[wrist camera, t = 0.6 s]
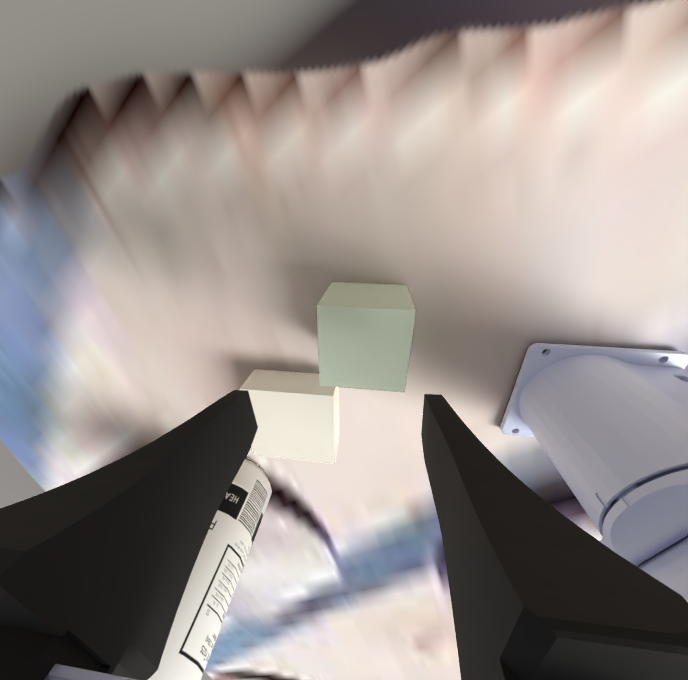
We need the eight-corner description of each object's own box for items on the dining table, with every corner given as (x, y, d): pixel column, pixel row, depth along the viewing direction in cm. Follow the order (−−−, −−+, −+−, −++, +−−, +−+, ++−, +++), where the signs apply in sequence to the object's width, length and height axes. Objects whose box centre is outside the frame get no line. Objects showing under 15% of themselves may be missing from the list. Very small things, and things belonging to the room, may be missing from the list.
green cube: (406, 284, 18) (415, 310, 13) (399, 351, 20) (404, 392, 16) (332, 281, 18) (316, 305, 14) (332, 346, 21) (319, 385, 16)
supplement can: (242, 510, 31) (140, 735, 18) (185, 469, 29) (21, 689, 16) (289, 486, 28) (209, 734, 15) (229, 438, 26) (73, 677, 13)
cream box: (339, 372, 22) (333, 396, 19) (339, 436, 25) (334, 464, 22) (256, 367, 23) (239, 389, 20) (266, 429, 26) (253, 455, 23)
